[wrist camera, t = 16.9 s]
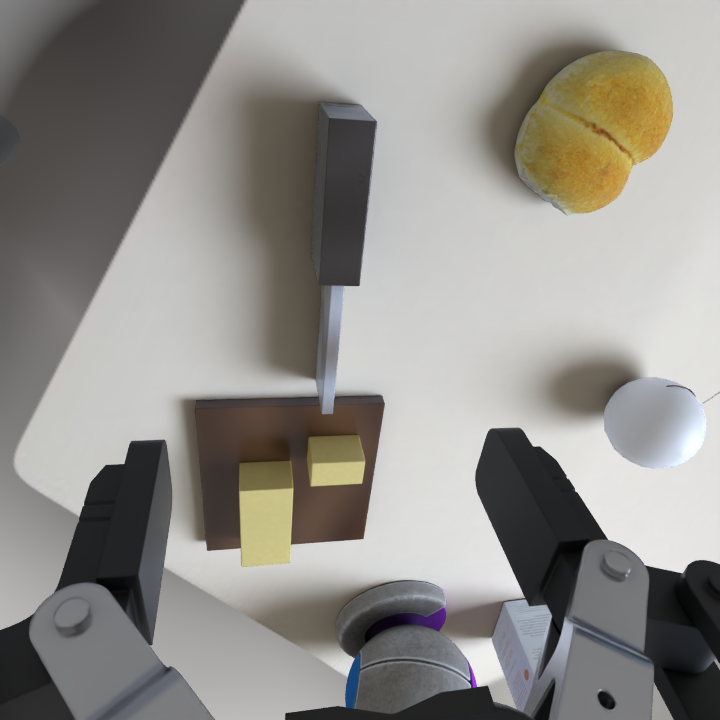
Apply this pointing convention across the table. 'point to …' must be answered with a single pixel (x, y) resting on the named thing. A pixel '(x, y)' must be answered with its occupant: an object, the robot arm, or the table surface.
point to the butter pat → (335, 460)
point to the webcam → (399, 648)
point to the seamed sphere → (655, 422)
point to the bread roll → (593, 129)
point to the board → (284, 443)
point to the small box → (520, 645)
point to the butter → (265, 512)
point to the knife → (339, 224)
